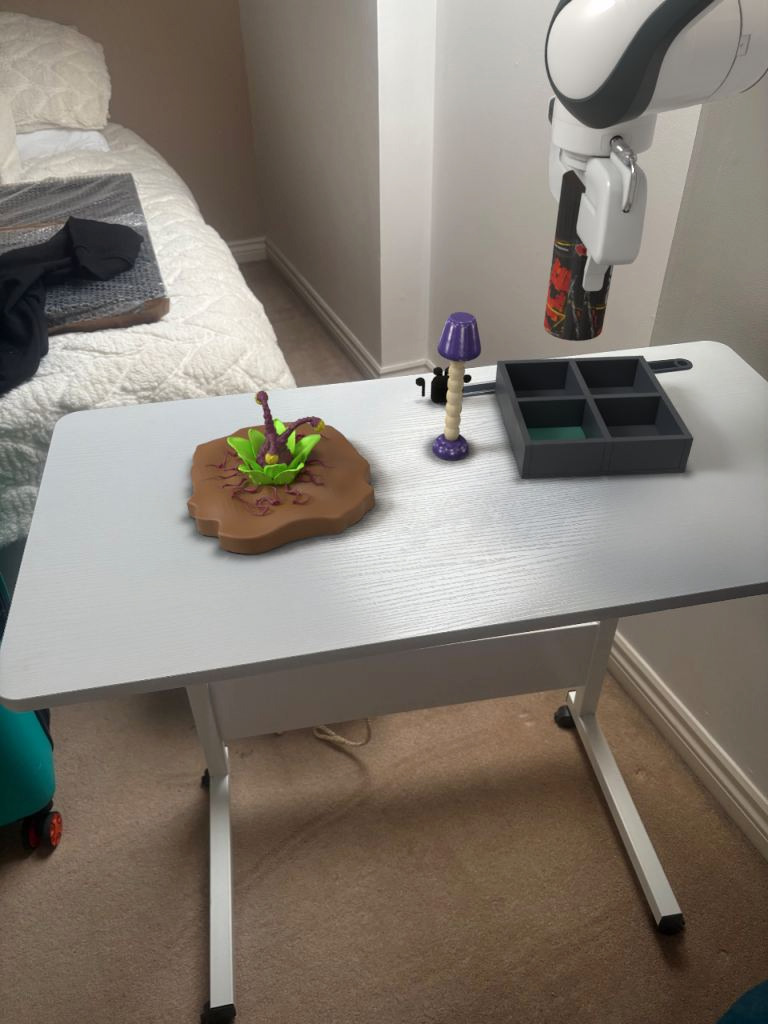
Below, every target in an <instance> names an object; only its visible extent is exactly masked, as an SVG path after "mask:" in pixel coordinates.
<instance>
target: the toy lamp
mask: <svg viewBox="0 0 768 1024" xmlns="http://www.w3.org/2000/svg"><path fill="white" fill-rule="evenodd" d="M481 344H482V343H481V339H480V333H479V327H478V322H477V319H476V316H475V315H474V314H472V313H470V312H465V311H456V312H455V311H454V312H452V313H451V314H449V315H448V316H447V318H446V321H445V323H444V325H443V330H442V331H441V334H440V337H439V341H438V343H437V353H438V354H439V356H440V357H442V358H444V359H446V360H448V361H449V366H450V367H449V366H448V367H449V376H450V377H449V379H448V389H449V390H448V392H447V401H448V402H446V403H445V412H446V414H445V417H444V424H445V426H444V429H443V433H441V434H440V435H437V437H436V438H435V440H434V441H433V443H432V447H431V450H432V453H433V454H434V456H436V457H438V458H440V459H443V460H450V461H456V460H461V459H463V458H465V457H466V456H467V455H468V454H469V452H470V448H469V443H468V440H467V439H466V438H465V437H464V436H463V435H462V434H460V432H461V431H460V426H461V421H462V418H461V414H462V412H463V411H462V410H463V405H462V401H463V398H464V391H463V392H462V389H463V390H464V388H465V387H464V386H465V383H464V380H463V377H464V375H465V374H466V368H465V365H466V363H467V362H470V361H473V360H475V359H477V358H478V357H480V355H481V353H482V345H481ZM463 387H464V388H463Z"/></svg>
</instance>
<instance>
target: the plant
mask: <svg viewBox="0 0 768 1024" xmlns="http://www.w3.org/2000/svg"><path fill="white" fill-rule="evenodd" d="M254 401H255V403H256V404H257V405H259V406H261V407H262V412H263V415H262V417H263V419H264V423H263V424H261V425H260V424H258V425H254V426H253V425H252V426H246V427H241V428H239V429H237V430H236V431H234V432H232V433H231V434H229V435H226V436H223V437H219V438H218V437H217V438H215V439H212V440H209V441H206V442H204V443H201V444H197V445H196V448H195V450H194V453H193V454H192V466H191V468H190V479H191V485H192V489H193V493H192V495H191V497H190V498H189V499H188V500H187V502H186V506H187V510H188V515H189V517H190V518H193V519H194V520H195V521H196V526H197V530H198V533H199V534H201V535H203V536H206V537H215V538H218V542H219V546H220V548H221V549H222V550H224V551H228V552H231V553H236V554H244V555H245V554H246V555H253V554H260V553H265V552H268V551H271V550H273V549H276V548H279V547H281V546H283V545H286V544H288V543H291V542H294V541H298V540H302V539H307V538H311V537H317V536H320V535H329V534H330V535H331V534H339V533H342V532H344V531H345V530H346V529H347V528H349V527H351V526H353V525H355V524H356V523H358V522H359V521H360V520H361V519H363V517H364V515H365V514H366V513H367V512H369V511H370V510H371V509H373V508H374V507H375V506H376V492H375V491H376V490H375V489H374V488H373V487H372V486H371V485H370V482H371V479H372V472H371V470H372V469H371V465H370V463H369V461H368V460H367V459H366V458H365V457H364V456H363V455H362V454H361V453H360V452H359V451H358V449H356V447H355V446H354V445H353V444H352V442H350V440H349V439H348V438H347V437H346V436H345V435H344V434H343V433H342V432H341V431H340V430H338V429H337V428H335V427H334V426H332V425H330V424H326V423H325V421H324V419H322V418H320V417H318V416H315V415H313V416H306V417H302V418H298V419H296V420H295V421H286V422H282V421H281V420H280V419H279V418H277V417H275V418H273V414H272V413H271V412H272V410H271V409H270V406H269V403H268V401H269V395H268V392H266V391H265V390H259V391H257V392H256V393H255V395H254Z"/></svg>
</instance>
